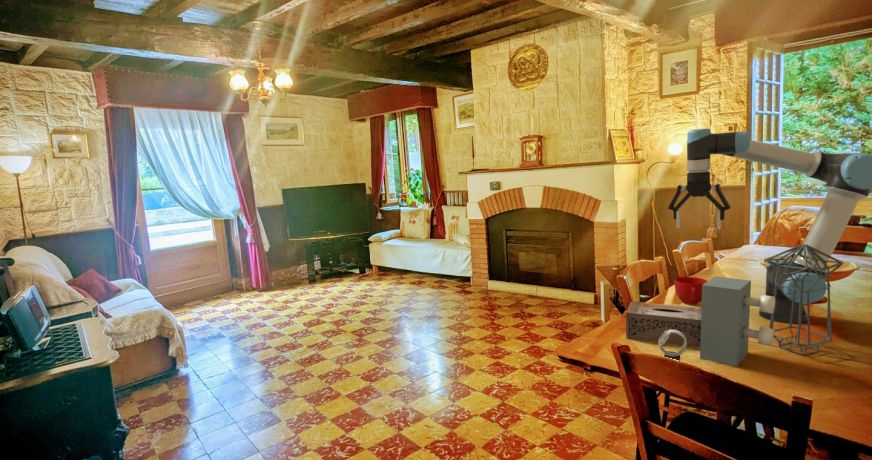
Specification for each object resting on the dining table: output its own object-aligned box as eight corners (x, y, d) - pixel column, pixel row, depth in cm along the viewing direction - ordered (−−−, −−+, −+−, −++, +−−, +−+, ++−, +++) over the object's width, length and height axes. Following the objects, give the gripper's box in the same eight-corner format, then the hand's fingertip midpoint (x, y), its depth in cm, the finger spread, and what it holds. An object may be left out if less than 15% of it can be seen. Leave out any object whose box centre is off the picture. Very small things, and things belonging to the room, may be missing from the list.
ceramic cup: (676, 308, 199) (676, 285, 198) (672, 297, 215) (673, 276, 213) (711, 310, 194) (712, 287, 193) (705, 299, 210) (705, 277, 209)
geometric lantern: (841, 354, 148) (849, 245, 142) (804, 363, 143) (811, 251, 138) (791, 337, 163) (796, 237, 157) (756, 344, 158) (760, 243, 153)
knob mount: (747, 352, 152) (750, 280, 149) (736, 366, 142) (739, 289, 139) (713, 345, 159) (715, 276, 156) (699, 358, 149) (702, 285, 146)
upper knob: (774, 311, 141) (775, 294, 141) (771, 315, 138) (772, 298, 137) (740, 305, 148) (740, 290, 147) (735, 309, 144) (736, 293, 144)
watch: (658, 359, 150) (658, 326, 149) (686, 363, 146) (687, 329, 145) (656, 366, 145) (657, 332, 144) (686, 370, 142) (687, 335, 140)
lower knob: (773, 342, 143) (773, 326, 142) (769, 347, 139) (770, 331, 139) (738, 336, 149) (739, 321, 149) (734, 340, 146) (735, 325, 145)
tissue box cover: (626, 339, 169) (626, 312, 167) (630, 326, 181) (631, 301, 180) (708, 349, 156) (709, 320, 155) (707, 335, 169) (708, 308, 167)
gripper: (739, 169, 168) (738, 227, 171) (664, 172, 184) (665, 226, 187) (736, 170, 163) (735, 230, 165) (659, 173, 179) (659, 228, 181)
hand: (698, 228), depth 176 cm, fingers open, 13 cm apart
